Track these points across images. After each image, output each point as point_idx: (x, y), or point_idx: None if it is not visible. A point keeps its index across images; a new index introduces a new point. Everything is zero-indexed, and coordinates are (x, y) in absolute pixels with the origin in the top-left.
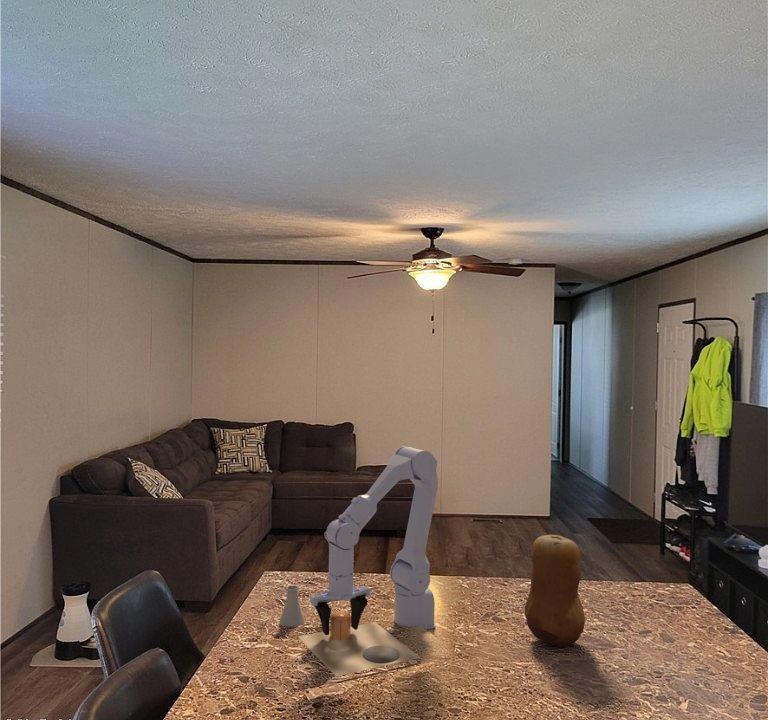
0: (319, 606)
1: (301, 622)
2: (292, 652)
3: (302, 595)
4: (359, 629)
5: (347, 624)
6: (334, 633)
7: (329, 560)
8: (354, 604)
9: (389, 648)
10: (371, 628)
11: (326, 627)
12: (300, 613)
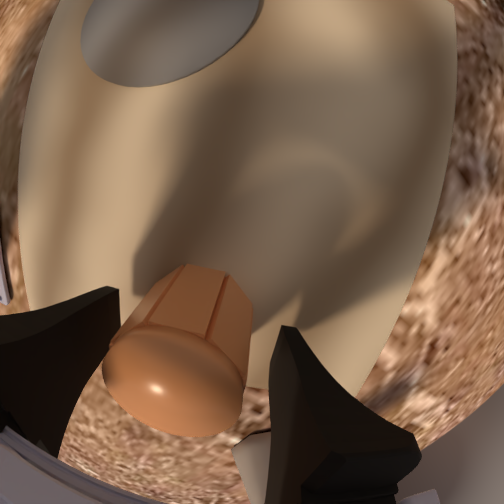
0: (392, 489)
1: (269, 454)
2: (416, 327)
3: (162, 495)
4: None
5: (159, 304)
6: (247, 317)
7: None
8: (41, 396)
9: (96, 35)
10: (51, 283)
11: (311, 352)
12: (266, 480)
